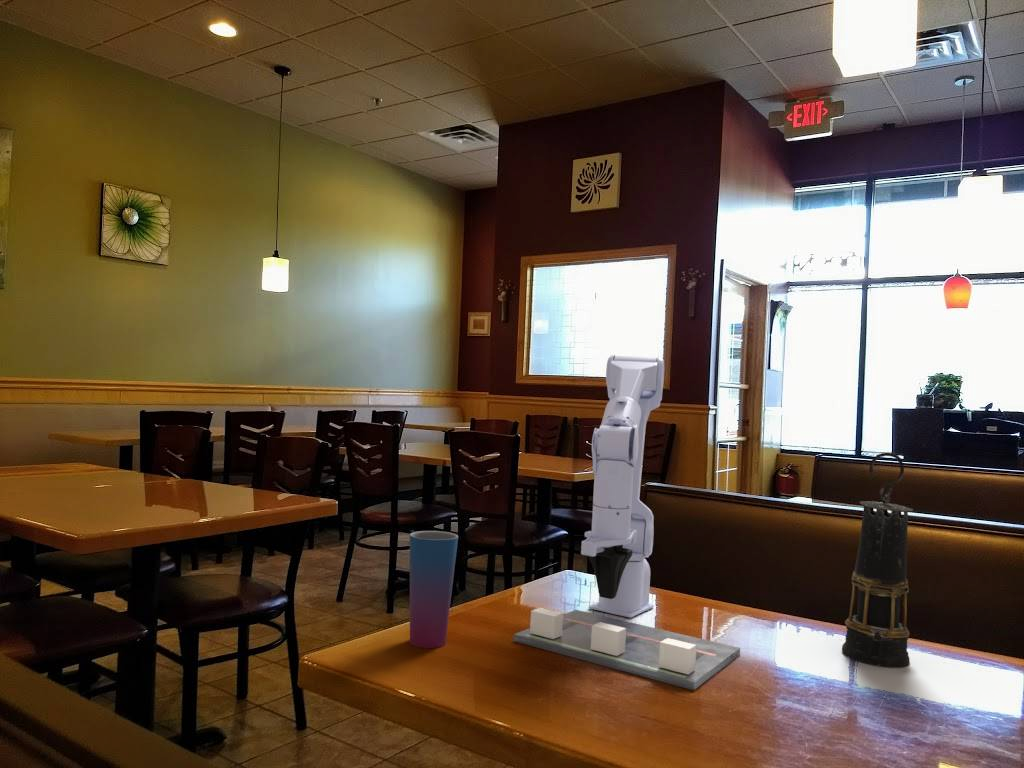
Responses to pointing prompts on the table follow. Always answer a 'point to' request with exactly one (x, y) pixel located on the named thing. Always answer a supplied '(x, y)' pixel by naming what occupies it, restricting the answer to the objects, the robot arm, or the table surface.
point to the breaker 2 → (677, 656)
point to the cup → (431, 586)
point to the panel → (633, 649)
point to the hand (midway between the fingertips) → (607, 597)
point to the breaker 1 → (546, 623)
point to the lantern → (880, 583)
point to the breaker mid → (608, 638)
